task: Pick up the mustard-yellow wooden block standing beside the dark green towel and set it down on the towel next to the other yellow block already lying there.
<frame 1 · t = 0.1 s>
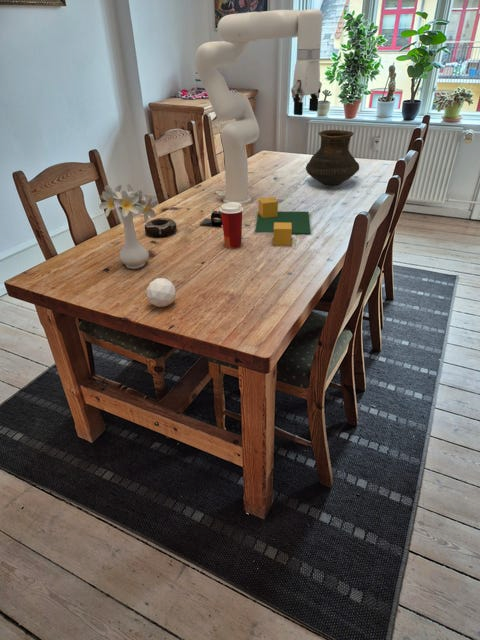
hand: (305, 112, 153), 37 cm above the table, tool pointing down, fingers open, 9 cm apart
ceramic pot: (330, 183, 209), on the table
towel: (282, 223, 168), on the table
flower vase: (138, 265, 142), on the table
paper cup: (232, 245, 153), on the table
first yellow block: (267, 214, 174), point 1 cm above the table, touching towel
yellow block: (282, 242, 153), on the table
geometric ball: (163, 305, 121), on the table
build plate: (217, 224, 170), on the table
donut: (161, 232, 164), on the table
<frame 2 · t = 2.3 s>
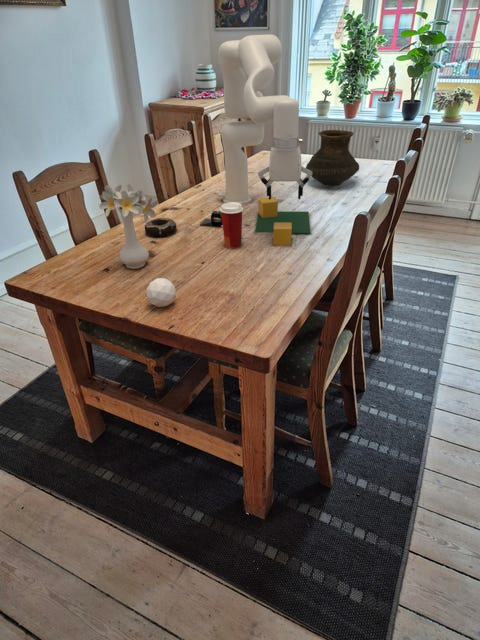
hand: (284, 198, 145), 15 cm above the table, tool pointing down, fingers open, 9 cm apart
nothing on the table moved.
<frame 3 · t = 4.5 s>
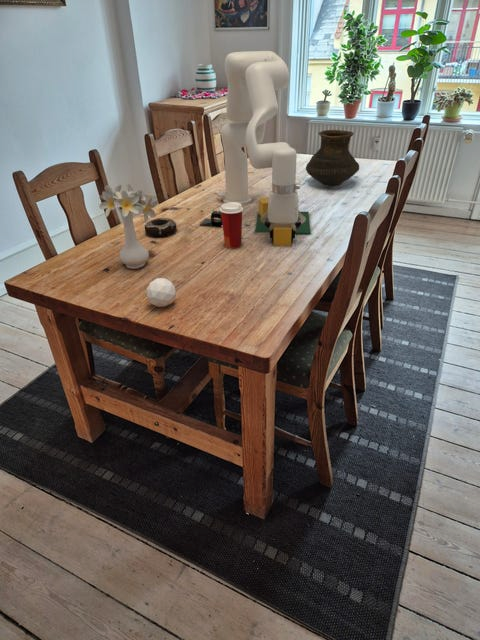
hand: (282, 239, 153), 1 cm above the table, tool pointing down, fingers closed on yellow block, 6 cm apart
yellow block: (282, 242, 153), on the table, touching gripper
everything else where it was.
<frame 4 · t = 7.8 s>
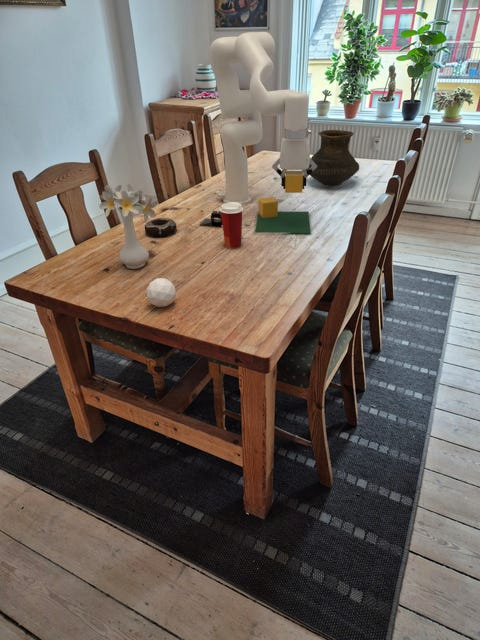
hand: (293, 187, 157), 15 cm above the table, tool pointing down, fingers closed on yellow block, 6 cm apart
yellow block: (293, 190, 157), point 14 cm above the table, touching gripper
everything else where it was.
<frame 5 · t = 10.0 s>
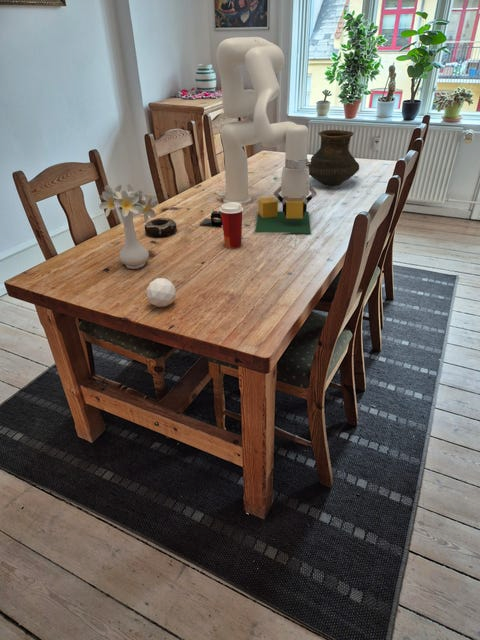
hand: (294, 213, 164), 5 cm above the table, tool pointing down, fingers closed on yellow block, 6 cm apart
yellow block: (294, 215, 164), point 4 cm above the table, touching gripper
everything else where it was.
when the fingers open (1 cm above the table, at t = 11.4 s): yellow block stays where it is, resting on towel.
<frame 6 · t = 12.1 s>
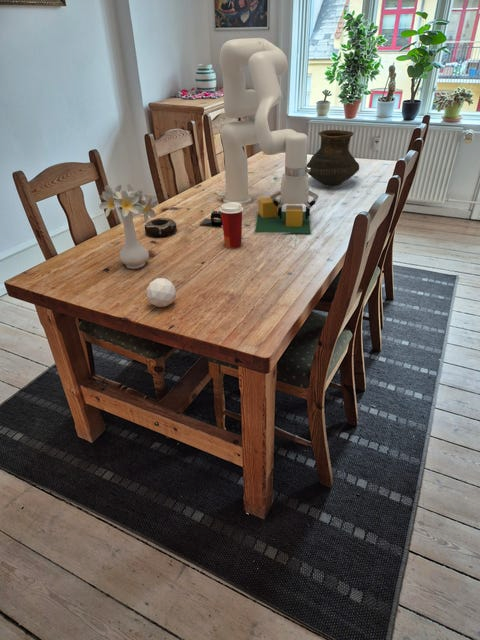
hand: (293, 217, 165), 3 cm above the table, tool pointing down, fingers open, 9 cm apart
yellow block: (293, 223, 166), point 1 cm above the table, touching towel
everything else where it was.
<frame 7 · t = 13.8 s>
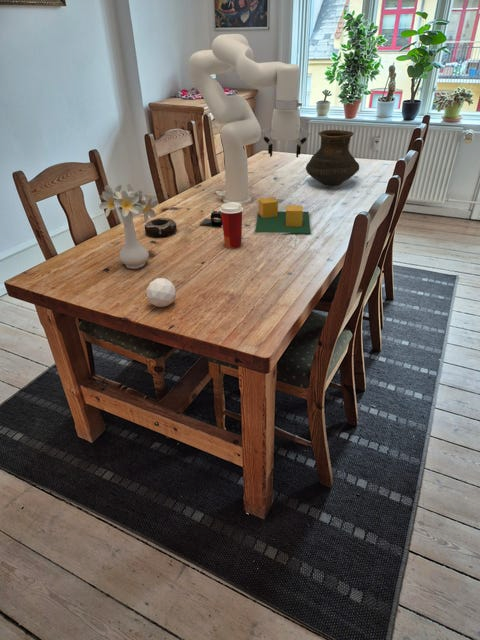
hand: (284, 156, 163), 23 cm above the table, tool pointing down, fingers open, 9 cm apart
nothing on the table moved.
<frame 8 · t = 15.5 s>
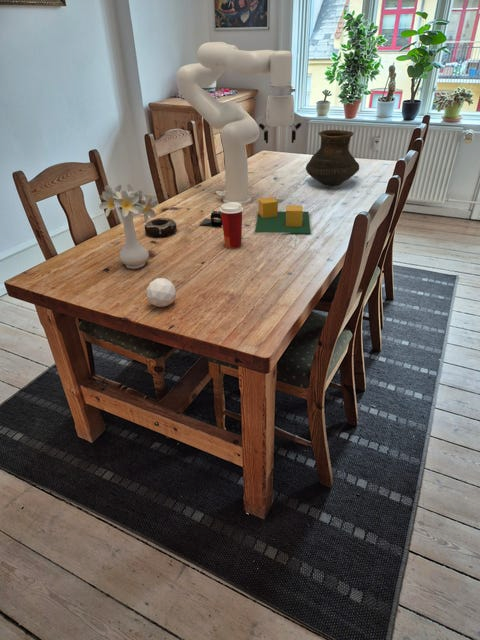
hand: (279, 142, 166), 26 cm above the table, tool pointing down, fingers open, 9 cm apart
nothing on the table moved.
at the end: yellow block inside the target area on the towel (4.6 cm from its centre), point 0.6 cm above the towel's base; yellow block tilted 0°; the gripper is holding nothing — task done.
